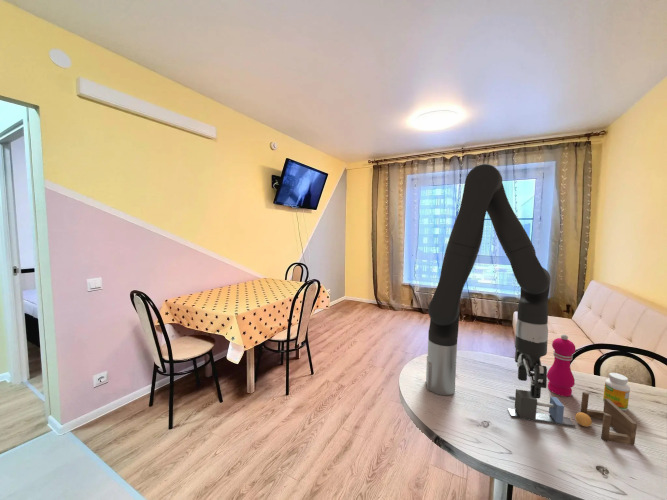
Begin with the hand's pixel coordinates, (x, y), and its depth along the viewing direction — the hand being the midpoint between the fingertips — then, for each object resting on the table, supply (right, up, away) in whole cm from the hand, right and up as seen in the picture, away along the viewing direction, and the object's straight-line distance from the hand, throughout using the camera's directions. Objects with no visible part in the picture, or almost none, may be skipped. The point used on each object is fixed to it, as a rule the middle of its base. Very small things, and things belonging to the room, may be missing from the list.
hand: (528, 388), depth 80 cm
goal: (+19, -9, -4) cm, 21 cm away
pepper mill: (+20, -8, +13) cm, 25 cm away
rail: (+3, -9, 0) cm, 10 cm away
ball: (+14, -7, -3) cm, 16 cm away
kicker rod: (+3, -8, 0) cm, 8 cm away
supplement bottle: (+31, -8, +6) cm, 33 cm away
